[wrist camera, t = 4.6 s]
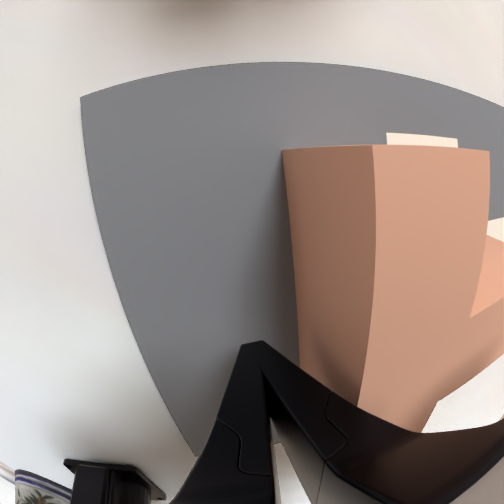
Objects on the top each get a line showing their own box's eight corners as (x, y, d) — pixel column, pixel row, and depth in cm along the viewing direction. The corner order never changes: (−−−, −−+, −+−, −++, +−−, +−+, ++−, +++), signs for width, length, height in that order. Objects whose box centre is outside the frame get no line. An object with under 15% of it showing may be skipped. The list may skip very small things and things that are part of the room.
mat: (482, 345, 16) (485, 348, 15) (195, 449, 13) (195, 456, 13) (512, 113, 10) (517, 113, 9) (86, 99, 7) (80, 96, 7)
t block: (451, 347, 14) (498, 391, 9) (301, 409, 12) (334, 488, 8) (478, 149, 10) (558, 163, 5) (281, 149, 8) (372, 145, 4)
